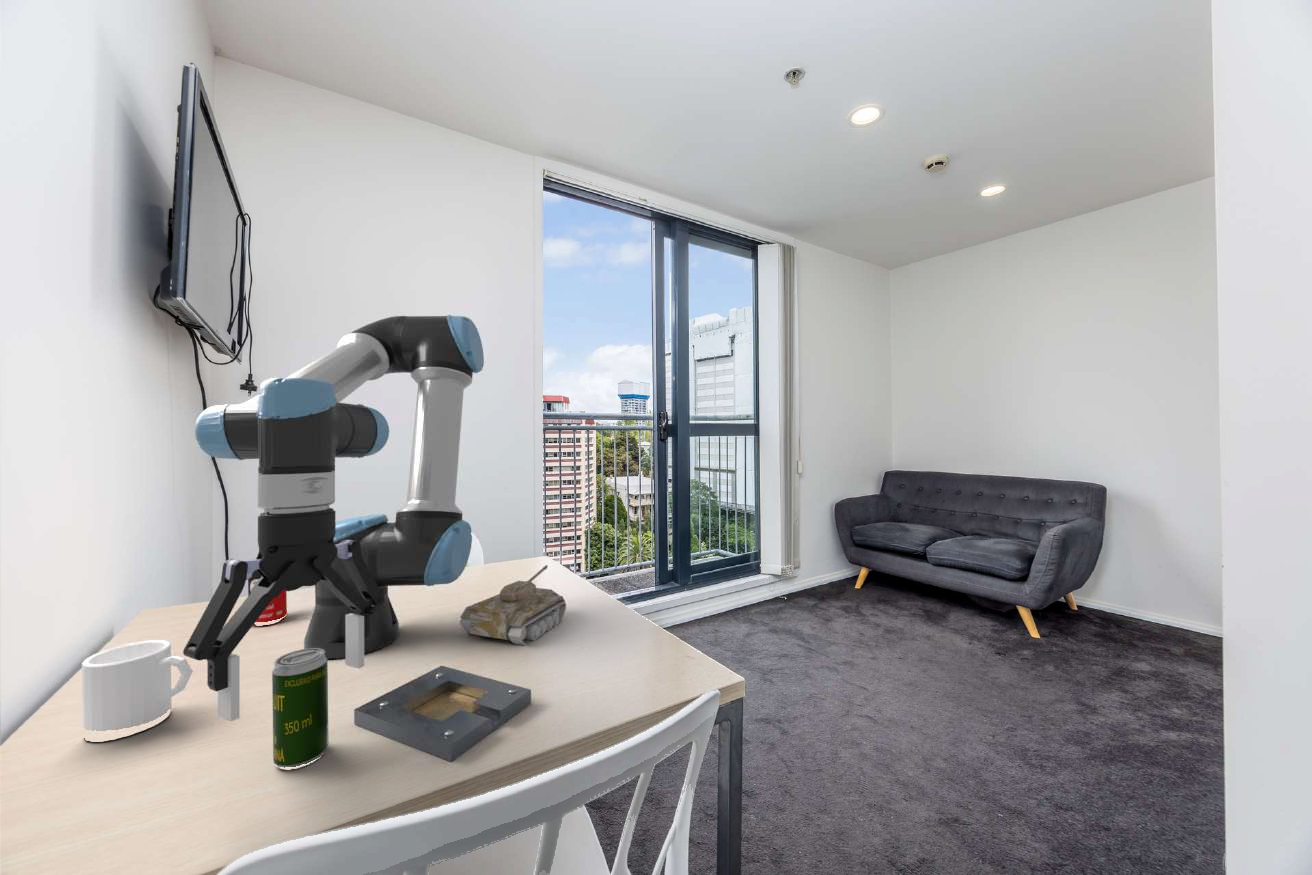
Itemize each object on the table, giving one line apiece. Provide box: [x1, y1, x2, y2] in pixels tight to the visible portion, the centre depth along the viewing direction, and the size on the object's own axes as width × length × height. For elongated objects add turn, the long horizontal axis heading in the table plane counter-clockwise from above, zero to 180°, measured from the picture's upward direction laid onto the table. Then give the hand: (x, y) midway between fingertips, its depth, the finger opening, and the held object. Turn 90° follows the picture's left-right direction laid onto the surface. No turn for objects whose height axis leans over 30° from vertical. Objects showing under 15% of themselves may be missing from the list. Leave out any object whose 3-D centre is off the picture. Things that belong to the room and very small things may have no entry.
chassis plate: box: [353, 665, 532, 763], centre depth 68 cm, size 18×14×2 cm
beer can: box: [271, 648, 330, 768], centre depth 59 cm, size 5×5×12 cm
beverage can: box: [247, 570, 288, 622], centre depth 104 cm, size 6×6×12 cm
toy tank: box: [459, 564, 567, 646], centre depth 101 cm, size 15×20×10 cm
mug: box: [81, 639, 194, 731], centre depth 67 cm, size 8×12×10 cm, turn 93°
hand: (298, 688), depth 59 cm, fingers open, 13 cm apart
